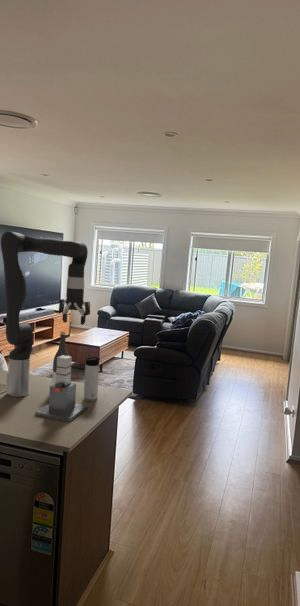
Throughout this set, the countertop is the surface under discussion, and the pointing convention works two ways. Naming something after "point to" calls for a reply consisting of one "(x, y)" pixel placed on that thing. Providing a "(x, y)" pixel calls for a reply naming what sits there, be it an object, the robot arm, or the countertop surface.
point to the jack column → (63, 370)
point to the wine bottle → (59, 354)
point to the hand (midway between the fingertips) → (73, 323)
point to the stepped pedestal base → (62, 403)
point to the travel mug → (91, 379)
